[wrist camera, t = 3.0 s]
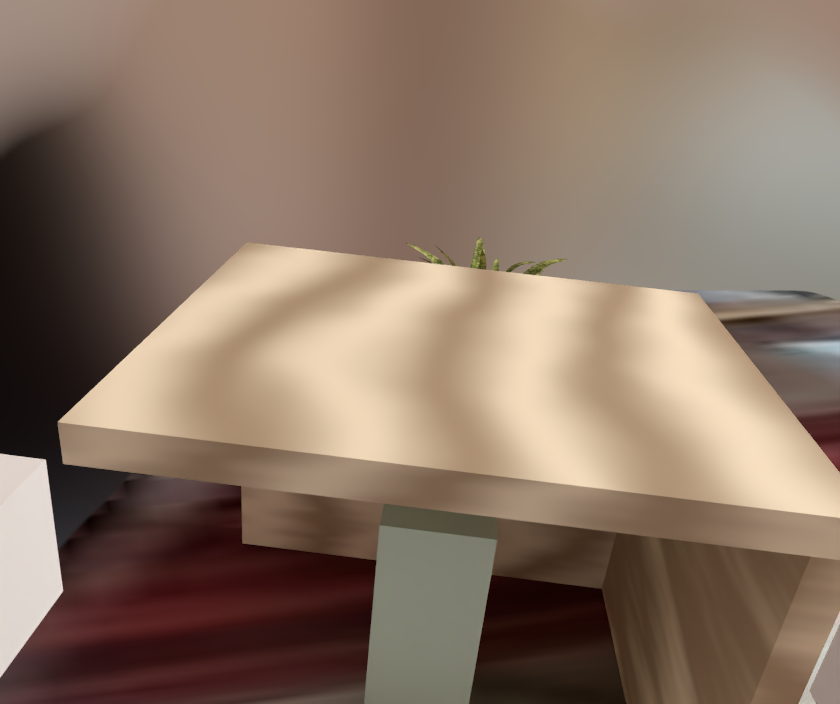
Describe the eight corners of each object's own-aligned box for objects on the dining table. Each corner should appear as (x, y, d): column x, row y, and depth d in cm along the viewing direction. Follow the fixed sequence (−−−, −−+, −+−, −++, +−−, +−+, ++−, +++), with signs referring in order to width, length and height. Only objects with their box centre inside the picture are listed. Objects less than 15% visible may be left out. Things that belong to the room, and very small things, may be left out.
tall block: (465, 653, 40) (495, 472, 35) (463, 734, 36) (497, 540, 31) (376, 641, 40) (392, 460, 35) (362, 720, 36) (379, 525, 31)
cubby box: (621, 575, 47) (697, 293, 39) (706, 909, 29) (879, 522, 21) (249, 528, 48) (246, 242, 40) (112, 827, 30) (57, 422, 22)
